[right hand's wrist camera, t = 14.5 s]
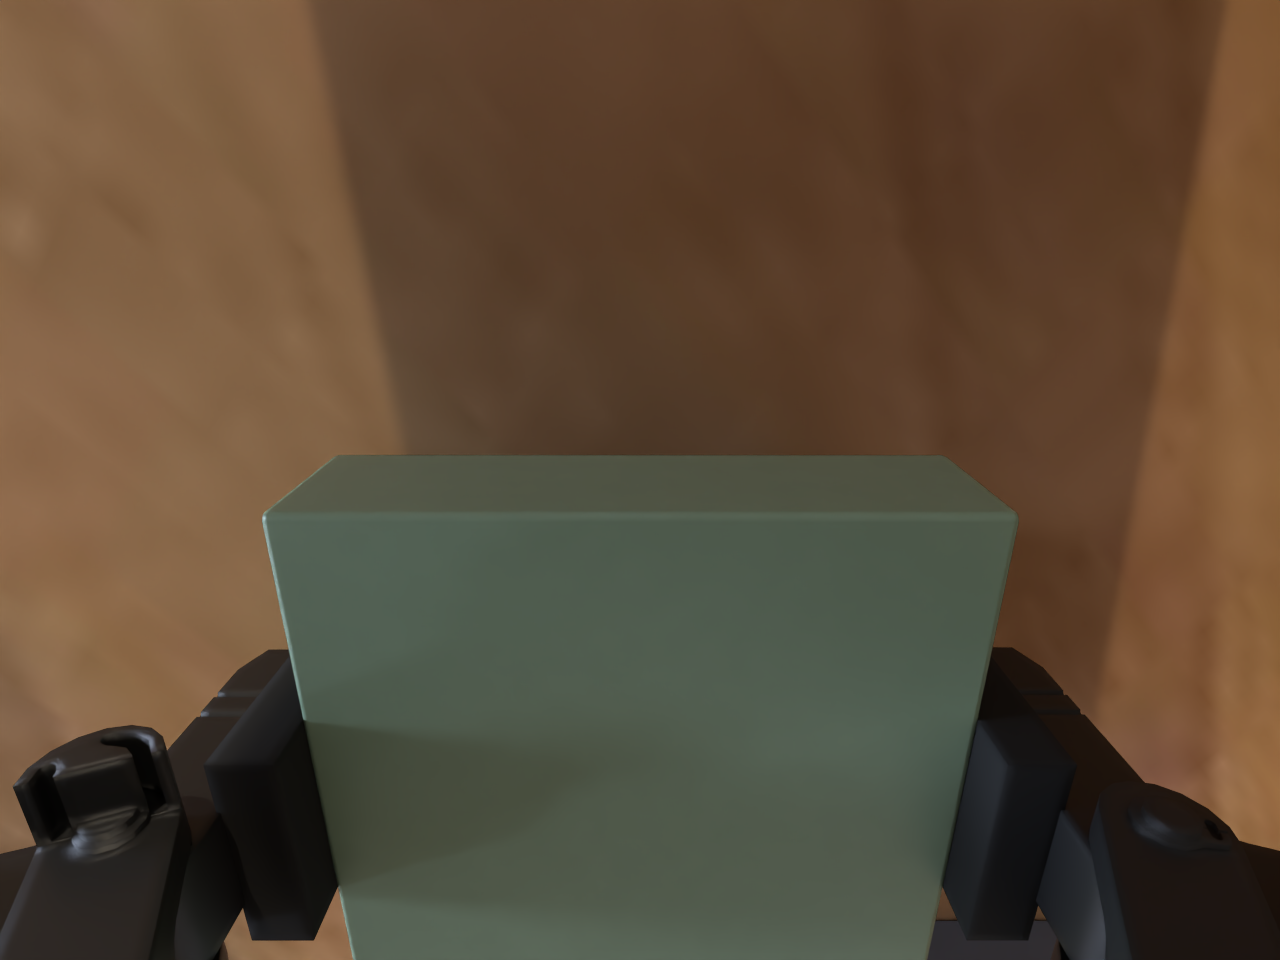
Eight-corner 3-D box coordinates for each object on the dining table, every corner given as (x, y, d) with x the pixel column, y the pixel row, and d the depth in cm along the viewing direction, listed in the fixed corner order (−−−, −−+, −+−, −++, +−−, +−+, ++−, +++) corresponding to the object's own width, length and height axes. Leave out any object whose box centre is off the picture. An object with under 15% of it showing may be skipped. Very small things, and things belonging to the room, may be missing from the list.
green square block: (435, 812, 14) (362, 1022, 10) (381, 415, 11) (255, 513, 7) (845, 813, 14) (917, 1023, 10) (899, 416, 11) (1024, 514, 7)
